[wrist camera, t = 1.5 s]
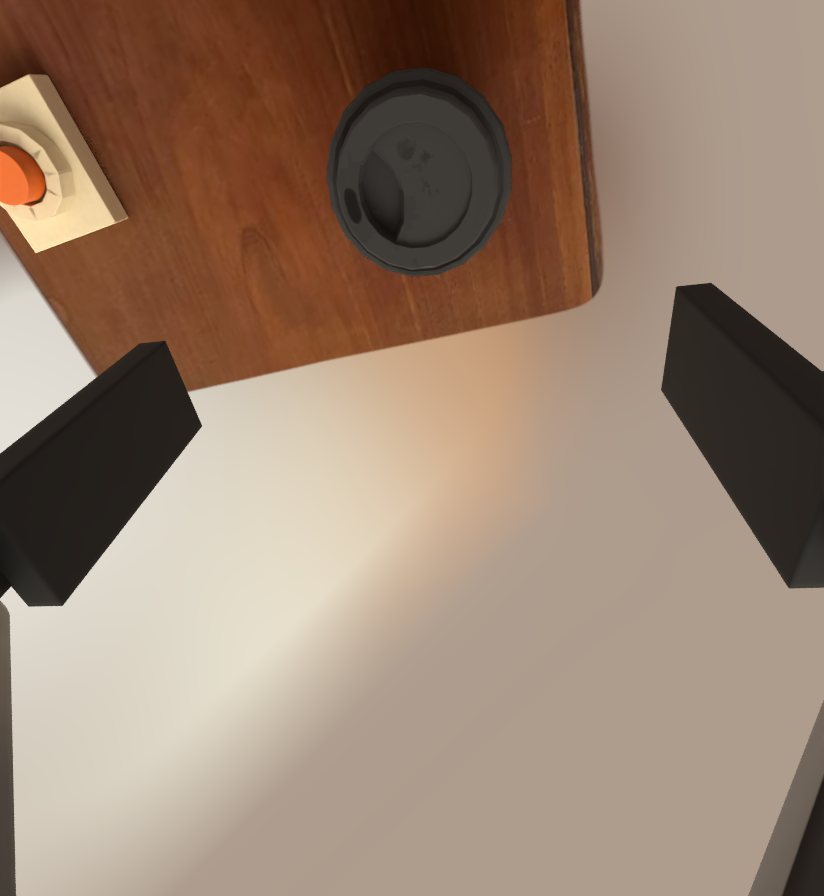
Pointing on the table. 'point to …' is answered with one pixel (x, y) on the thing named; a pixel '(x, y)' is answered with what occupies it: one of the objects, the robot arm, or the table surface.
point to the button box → (55, 166)
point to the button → (19, 177)
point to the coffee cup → (419, 172)
